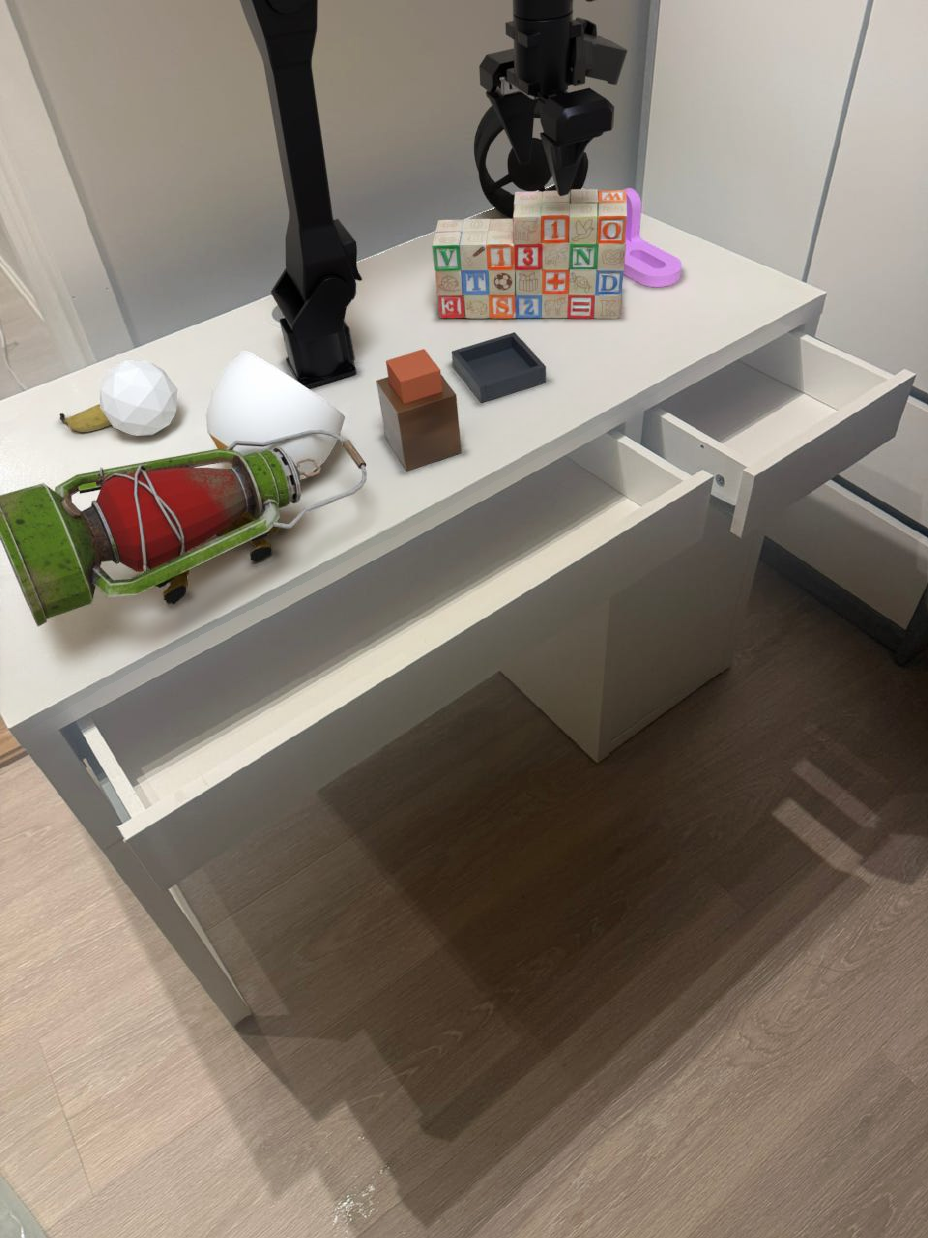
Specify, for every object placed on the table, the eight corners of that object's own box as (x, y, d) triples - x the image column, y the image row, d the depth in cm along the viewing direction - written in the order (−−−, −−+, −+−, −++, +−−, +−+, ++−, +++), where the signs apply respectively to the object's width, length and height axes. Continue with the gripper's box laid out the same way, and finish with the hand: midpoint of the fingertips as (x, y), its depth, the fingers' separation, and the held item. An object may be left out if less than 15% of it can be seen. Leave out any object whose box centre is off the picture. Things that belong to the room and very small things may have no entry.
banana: (156, 415, 99) (154, 399, 102) (147, 396, 98) (146, 380, 101) (63, 443, 98) (65, 426, 101) (53, 423, 97) (54, 406, 100)
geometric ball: (167, 435, 102) (184, 365, 99) (167, 454, 95) (186, 379, 92) (94, 415, 99) (111, 342, 96) (89, 433, 92) (106, 355, 89)
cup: (159, 420, 84) (214, 329, 83) (225, 455, 96) (274, 375, 95) (261, 488, 81) (319, 393, 80) (317, 514, 92) (367, 432, 92)
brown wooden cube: (406, 471, 91) (397, 413, 86) (385, 438, 95) (375, 380, 89) (461, 452, 92) (456, 394, 87) (439, 420, 96) (432, 362, 91)
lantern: (-36, 453, 69) (323, 357, 82) (2, 545, 78) (322, 446, 90) (21, 583, 63) (400, 459, 75) (55, 668, 72) (391, 544, 84)
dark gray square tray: (481, 403, 97) (480, 387, 96) (452, 366, 102) (451, 351, 101) (546, 382, 99) (546, 366, 98) (515, 347, 104) (514, 331, 102)
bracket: (585, 252, 117) (587, 197, 112) (618, 237, 119) (622, 183, 114) (655, 292, 109) (660, 235, 104) (690, 276, 111) (696, 219, 106)
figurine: (294, 550, 85) (235, 464, 92) (279, 507, 80) (217, 419, 87) (144, 627, 81) (93, 532, 88) (118, 587, 76) (66, 489, 83)
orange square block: (403, 404, 86) (400, 381, 85) (388, 382, 89) (385, 360, 87) (442, 391, 87) (440, 369, 85) (427, 370, 90) (424, 348, 88)
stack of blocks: (438, 320, 109) (428, 218, 99) (444, 292, 113) (435, 192, 104) (621, 318, 106) (628, 213, 97) (620, 290, 110) (627, 187, 101)
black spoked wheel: (462, 220, 119) (460, 183, 126) (566, 248, 123) (559, 211, 129) (497, 107, 109) (493, 73, 115) (610, 142, 112) (599, 107, 119)
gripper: (669, 19, 83) (654, 193, 95) (571, -28, 95) (569, 131, 106) (559, 45, 81) (558, 220, 92) (473, -7, 92) (481, 154, 104)
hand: (543, 178), depth 99 cm, fingers open, 9 cm apart
